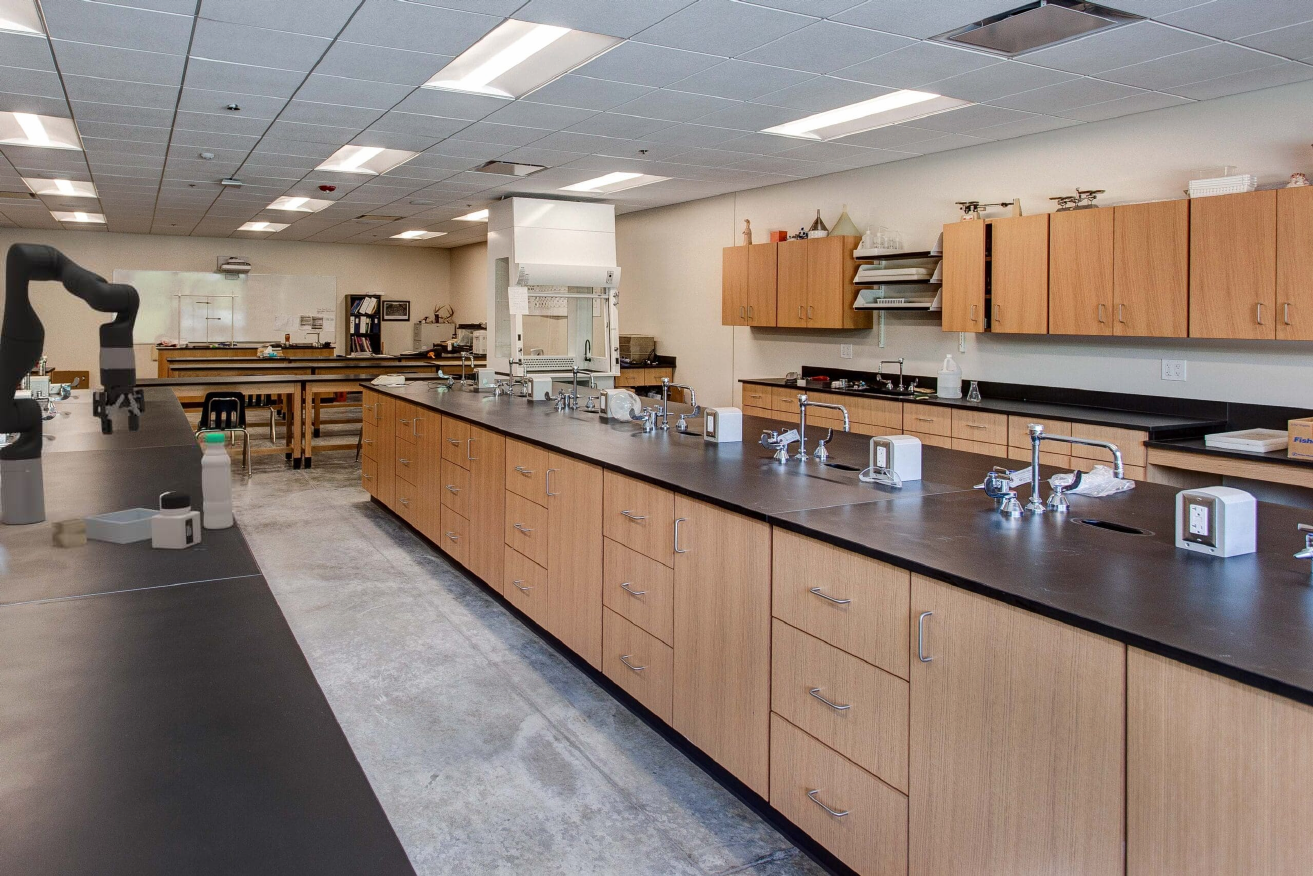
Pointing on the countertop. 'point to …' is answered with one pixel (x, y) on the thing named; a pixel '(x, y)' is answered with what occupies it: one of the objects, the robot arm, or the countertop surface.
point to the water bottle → (216, 484)
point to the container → (175, 522)
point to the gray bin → (121, 526)
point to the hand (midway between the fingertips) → (120, 432)
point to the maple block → (69, 533)
